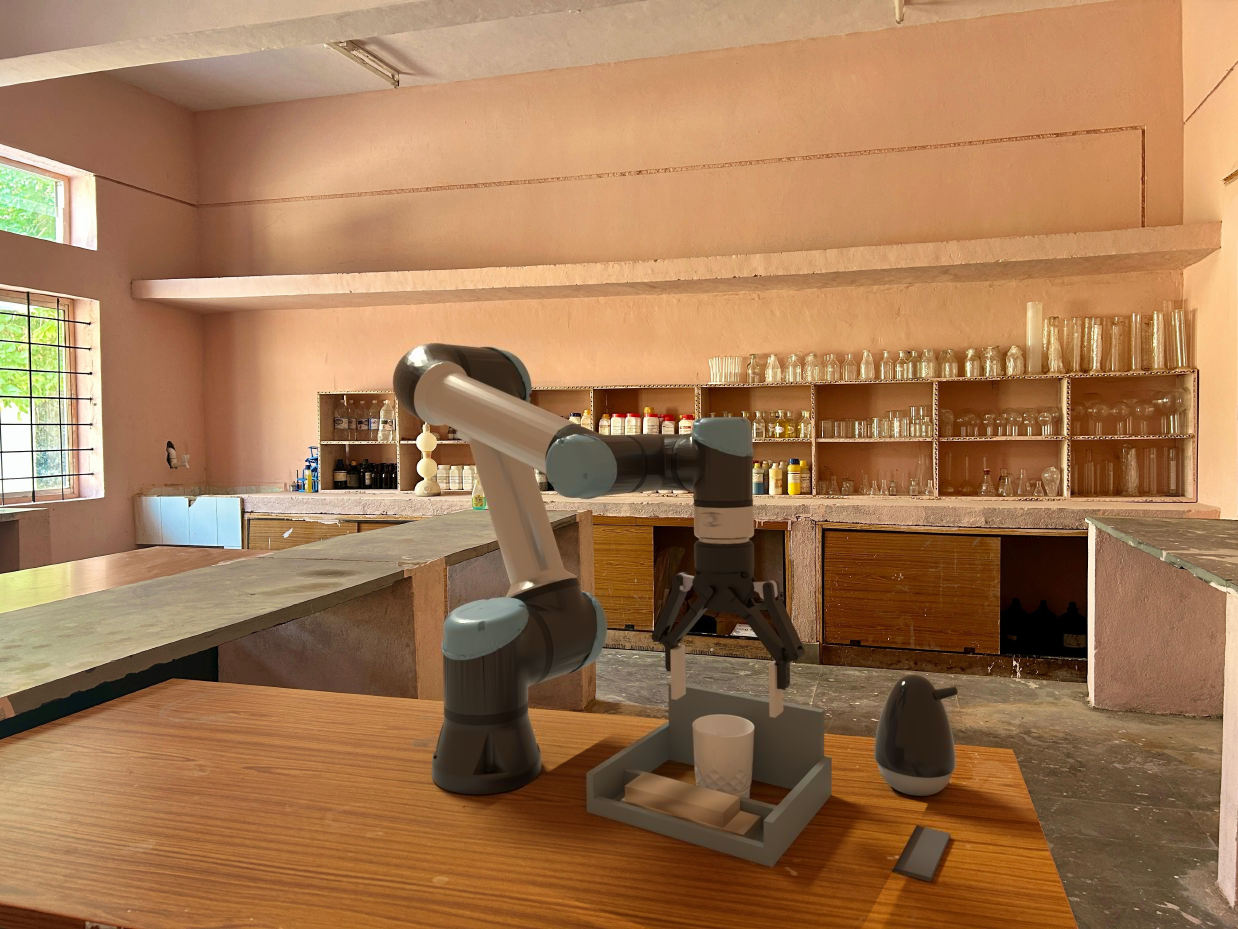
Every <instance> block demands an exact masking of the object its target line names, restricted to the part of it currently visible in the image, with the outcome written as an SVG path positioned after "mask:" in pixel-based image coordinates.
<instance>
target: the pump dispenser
mask: <svg viewBox="0 0 1238 929" xmlns="http://www.w3.org/2000/svg"><path fill="white" fill-rule="evenodd" d="M958 694H959V691H958V688H957V687H956V686H950V687H943V688H942V687H941V688H936V686H935V685H934V684H933V682H932V681H930V679H928V678H927V677H926V676H924V675H920V674H917V673H915V674H913V673H911V674H906V675H903V676H902V677H900V678H899V679H898V680H897V681H896V682H895V683H894V685H893V686H892V687H891V690H890V691H889V693H888V695H887V698H885V699H886V700H885V702H884V704H883V707H882V709H881V713H880V715H879V719H878V724H877V728H876V733H875V740H874V748H873V752H874V753H873V756H874V757H873V758H874V760H875V762H876V763H877V767H878V770H879V772H880V775H881V777H882V779H883V780H885V782H886V783H887V784H888V785H889V786H890V787H891V788H893V789H895V790H897V791H898V792H901V793H903V794H906V795H910V796H915V797H922V796H923V797H926V796H927V797H928V796H931V795H934V794H937V793H939V792H941V791H942V790H944V788H946V786H947V785H948V783H949V782H950V780H951V778H952V775H953V772H954V771H955V770H956V761H957V760H956V759H957V758H956V749H955V743H954V742H955V741H954V740H955V739H954V736H953V730H952V729H953V728H952V726H951V721H950V718H949V715H948V713H947V712H948V711H947V710H946V707H945V704H944V702H943V700H945V699H947V698H950V697H952V698H953V697H954V696H958Z"/></svg>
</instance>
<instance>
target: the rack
mask: <svg viewBox="0 0 1238 929" xmlns="http://www.w3.org/2000/svg"><path fill="white" fill-rule="evenodd" d="M667 691H668V721H665V722H664V723H662V724H660V725H659V726H657V727H656V728H654V729H652V730H651V731H649V732H648V733H646V734H645V735H643V736H642V737H640V738H638V739H637V740H636V741H634V742H633V743H631V744H629V745H628V746H626V747H624V748H623V749H621V750H619V751H618V752H617V753H615V754H614V755H612V756H610V757H609V758H607V759H606V760H604V761H603V762H601V763H599V764H598V765H596V766H595V767H593V768H592V769H590V770H589V771H587V772H586V779H585V780H586V812H587V813H590V814H593V815H597V816H600V817H604V818H607V819H610V820H614V821H617V822H620V823H622V824H626V825H630V826H634V827H637V828H640V829H643V830H646V831H649V832H653V833H657V834H660V835H663V836H666V837H670V838H673V839H676V840H680V841H682V842H686V843H690V844H694V845H697V846H700V847H703V848H707V849H710V850H713V851H717V852H719V853H722V854H727V855H730V856H734V857H736V858H740V859H743V860H747V861H749V862H753V863H756V864H760V865H764V866H767V867H770V868H773V867H774V866H775V865H776V864H777V862H779V860H780V859H781V858H782V856H783V855H784V854H785V853H786V851H788V848H790V846H791V845H792V844H793V843H794V842H795V840H796V839H797V837H798V836H800V834H801V833H802V831H803V830H804V829H805V828H806V827H807V826H808V824H809V823H810V822H811V821H812V819H814V817H815V816H816V814H818V812H819V811H820V809H821V808H822V807H823V806H824V804H825V803H826V802H827V801H828V799H829V798H830V797H831V796H832V788H833V787H832V783H833V780H832V779H833V777H832V775H833V774H832V773H833V772H832V771H833V770H832V768H833V766H832V764H833V763H832V762H833V761H832V760H833V759H832V758H833V757H831V756H827V755H825V709H823V708H817V707H813V706H808V705H803V704H796V703H791V702H785V701H783V712H782V713H780V714H779V715H778V716H777V717H776V718H774V717H769V698H764V697H759V696H758V697H757V696H753V695H749V694H748V695H747V694H742V693H739V692H738V693H737V692H731V691H726V690H720V689H715V688H709V687H704V686H699V685H694V684H688V683H686V694H685V695H684V696H682V697H680V698H679V699H677V700H674V699H671V682H669V683H668V690H667ZM708 715H733V716H738V717H742V718H744V719H747V720H749V721H750V722H752V723H753V724H754V727H755V728H754V748H753V764H752V781H756V782H761V783H763V784H768V785H773V786H777V787H781V788H785V789H789V790H791V791H790V792H788V794H787V795H786V796H784V798H783V799H782V800H781V801H780V802H779V803H778V804H772V803H768V802H764V801H760V800H756V799H752V798H750V797H749V798H745V797H741V796H739V797H740V811H743V812H747V813H750V814H754V815H758V816H761V832H760V833H759V834H758V835H757V836H756V837H755V838H754V839H753V840H752V839H748V838H745V837H741V836H738V835H734V834H731V833H727V832H724V831H720V830H717V829H713V828H710V827H706V826H703V825H699V824H696V823H692V822H689V821H685V820H682V819H678V818H675V817H671V816H668V815H664V814H661V813H657V812H654V811H650V810H647V809H643V808H639V807H636V806H632V805H629V804H625V803H622V802H621V799H623V798H624V797H625V785H627V784H628V783H630V782H631V781H633V780H634V779H635V778H637V777H638V776H640V775H641V774H642V773H644V772H646V773H649V774H653V775H657V776H661V777H665V778H669V779H673V780H677V781H681V782H684V783H688V784H692V785H696V783H695V784H694V783H690V782H687V781H682V780H678V779H674V778H671V777H667V776H663V775H659V774H655V773H653V772H654V770H656V769H658V768H659V767H660V766H661V765H663V764H664V763H665V762H668V761H674V762H677V763H682V764H685V765H690V766H694V749H693V727H692V724H693V722H694V721H695V720H696V719H698V718H700V717H703V716H708ZM696 786H699V785H696ZM700 787H702V786H700ZM704 788H706V787H704ZM708 789H710V788H708ZM712 790H714V789H712ZM716 791H718V790H716ZM719 792H722V791H719ZM723 793H726V792H723ZM727 794H730V793H727ZM731 795H734V794H731ZM735 796H738V795H735Z"/></svg>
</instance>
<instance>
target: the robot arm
mask: <svg viewBox="0 0 1238 929" xmlns="http://www.w3.org/2000/svg"><path fill="white" fill-rule="evenodd" d="M392 390H393V392H394V396H395V398H396V401H397V402H398V404H399V405H400V406H401V407H402V409H403V410H404V411H406V412H407V413H408V414H409V415H411V416H413V417H414V418H416V419H418V420H421V421H422V422H424V423H426V424H428V425H431V426H435V427H436V426H437V427H438V426H440V427H441V426H445V425H446V426H448V427H450V428H452V429H454V430H455V433H456V434H455V435H456V436H457V438H458V439H460V440H462V441H464V442H466V443H468V445H469V447H470V450H471V454H472V457H473V460H474V464H475V468H476V471H477V476H478V478H479V481H480V484H481V485H480V486H481V488H482V491H483V494H484V499H485V502H486V505H487V508H488V511H489V515H490V518H491V522H492V525H493V529H494V532H495V536H496V539H497V543H498V546H499V550H500V552H501V556H502V559H503V563H504V567H505V570H506V572H507V577H508V581H509V584H510V588H509V590H508V591H507V593H506V595H505V596H503V597H491V598H490V599H484V598H482V599H479V600H474V601H470V602H468V603H464V604H462V605H460V606H458V607H456V608H454V609H453V610H452V611H451V612H449V613H448V614H447V616H446V617H445V619H444V622H443V629H442V630H443V632H442V633H443V634H442V640H441V644H440V646H441V652H442V663H443V664H442V668H443V669H442V670H443V672H442V673H443V675H442V676H443V680H442V681H443V722H442V725H441V728H440V730H439V731H440V732H439V735H438V738H437V743H436V747H435V751H434V752H433V755H432V758H431V779H432V781H433V782H434V784H436V785H437V786H438V787H440V788H442V789H444V790H446V791H449V792H451V793H452V792H453V793H458V794H464V795H465V794H466V795H489V794H491V795H492V794H498V793H504V792H509V791H512V790H515V789H518V788H521V787H524V786H526V785H528V784H529V783H531V782H532V781H534V780H536V779H537V777H538V776H539V775H540V774H541V770H542V752H541V749H540V746H539V744H538V743H537V740H536V736H535V732H534V729H533V726H532V723H531V719H530V716H529V687H530V686H534V685H537V684H540V683H542V682H546V681H549V680H553V679H554V678H555V679H556V678H558V677H561V676H564V675H570V674H572V673H576V672H578V671H580V670H581V669H582V668H584V667H587V666H589V665H591V664H592V663H594V662H595V661H596V660H597V659H598V657H600V655H601V653H602V651H603V647H604V645H605V644H606V641H607V635H608V623H607V622H608V621H607V616H606V612H605V610H604V608H603V606H602V604H601V602H600V600H598V598H595V597H594V595H593V594H592V593H590V592H588V591H584V590H582V588H581V586H580V585H581V584H580V582H579V579H578V576H577V575H576V574H574V573H572V572H570V571H568V570H566V568H565V567H564V564H563V563H564V562H563V561H562V557H561V553H560V551H559V548H558V545H557V544H558V543H557V540H556V538H555V535H554V534H555V533H554V532H553V531H554V530H553V528H552V525H551V522H550V519H549V515H548V512H547V509H546V506H545V502H544V500H543V495H542V492H541V490H540V486H539V483H538V479H537V477H536V473H535V470H536V471H539V472H540V473H542V474H545V475H546V478H547V481H548V482H549V483H550V484H551V486H552V487H553V489H554V491H555V492H556V493H557V494H558V495H560V496H562V497H565V498H568V499H570V498H571V499H582V500H592V499H595V498H599V497H605V496H615V495H623V494H634V493H635V494H637V493H646V492H654V491H656V492H657V491H678V492H679V491H680V492H681V491H682V492H683V491H684V492H685V491H686V492H692V495H693V532H694V533H693V534H694V536H695V537H696V538H698V539H697V540H696V541H695V543H694V544H693V551H694V552H693V558H694V562H693V563H694V564H693V565H694V570H695V573H694V574H695V575H689V573H688V572H686V571H683V572H678V573H676V574H673V576H672V577H671V578H672V580H671V591H670V593H669V595H668V598H667V600H666V602H665V604H664V606H663V609H662V611H661V613H660V615H659V617H658V620H657V622H656V624H655V627H654V629H653V631H652V634H651V637H650V639H651V640H652V641H653V642H655V643H659V644H661V645H662V646H663V647H664V656H665V657H664V660H665V661H664V662H665V663H664V664H665V667H664V668H665V670H666V672H668V673H669V672H670V683H671V699H674V700H677V699H679V698H680V697H682V696H684V695H685V694H686V684H687V682H686V681H687V680H686V678H687V675H686V668H687V667H686V645H681V644H680V643H682V641H683V639H684V638H685V637H686V635H687V634H688V633H689V632H690V631H691V629H692V628H693V627H694V626H695V625H696V623H697V622H698V621H699V619H701V617H702V616H703V615H704V613H705V612H707V611H709V612H710V613H716V614H717V613H723V614H726V615H735V614H738V615H739V616H738V617H740V618H741V619H742V620H744V621H745V622H746V624H747V625H748V626H749V628H751V630H752V632H753V633H754V634H755V636H756V637H757V638H758V640H759V641H760V643H761V644H762V645H763V647H764V648H765V650H766V651H767V652H768V653H769V655H770V656H771V657H772V659H773V661H771V662H770V663H768V696H769V698H768V699H769V717H774V718H776V717H777V716H778V715H779V714H780V713H782V712H783V702H784V691H785V690H787V689H788V688H789V687H790V685H791V662H797V661H798V660H799V659H801V658H802V657H803V656H805V654H806V649H805V647H804V645H803V643H802V641H801V639H800V636H799V634H798V632H797V630H796V628H795V626H794V623H793V621H792V619H791V617H790V615H789V613H788V611H787V608H786V606H785V604H784V602H783V600H782V597H781V589H780V583H779V581H778V580H777V579H774V578H773V579H771V580H768V581H756V578H755V573H754V572H755V571H754V570H755V544H754V542H753V541H752V540H750V539H751V538H752V537H753V536H754V535H755V518H754V517H755V516H754V495H753V494H754V492H753V491H754V490H753V488H754V487H753V484H754V483H753V482H754V481H753V480H754V478H753V477H754V456H755V450H754V446H753V431H752V424H751V422H750V421H749V419H747V418H745V417H741V416H737V417H736V416H735V417H734V416H733V417H731V416H730V417H729V416H728V417H724V416H723V417H722V416H721V417H699V418H696V419H695V420H693V423H692V430H691V432H690V433H648V432H646V433H637V434H605V433H604V434H603V433H599V432H597V431H594V430H593V429H590V428H588V427H585V426H582V425H580V424H579V423H577V422H574V421H571V420H569V419H567V418H565V417H562V416H560V415H557V414H556V413H553V412H552V411H551V412H550V411H548V410H547V409H544V408H542V407H539V406H537V405H534V404H533V403H531V398H532V397H530V394H532V391H533V387H532V379H531V376H530V372H529V370H528V369H527V367H526V366H525V364H524V362H523V361H522V360H521V359H520V358H519V357H518V356H517V355H515V354H514V353H512V352H510V351H508V350H505V349H504V350H503V349H499V348H496V347H493V346H480V347H478V346H470V345H469V346H467V345H459V344H458V345H457V344H451V343H450V344H448V343H443V342H441V343H439V342H431V343H424V344H420V345H418V346H415V347H413V348H412V349H410V350H408V351H407V352H406V353H405V354H404V355H403V356H402V357H401V358H400V360H399V361H398V363H397V364H396V366H395V369H394V371H393V375H392ZM534 469H535V470H534ZM692 587H693V590H694V591H695V593H696V595H698V597H697V598H696V600H694V602H693V603H692V604H691V606H690V608H689V610H688V611H687V612H686V613H685V614H684V616H683V617H682V618H681V619H680V621H678V623H677V624H676V626H675V627H673V624H674V623H675V621H676V618H677V616H678V614H679V612H680V611H681V610H680V609H681V608H682V605H683V603H684V601H685V598H686V597H687V594H688V591H691V588H692ZM756 593H758V595H759V597H760V599H762V600H763V602H764V605H765V607H766V609H767V613H768V615H769V617H770V618H771V621H772V623H773V625H774V627H775V629H776V631H777V632H776V631H775V630H774V628H773V626H771V624H770V623H769V622H768V620H767V619H766V618H765V617H764V615H763V613H761V609H760V607H759V606H758V605H757V603H756V601H755V600H754V599H753V597H754V595H755V594H756ZM672 628H673V629H672ZM671 629H672V631H671ZM670 631H671V632H670ZM679 644H680V645H679Z"/></svg>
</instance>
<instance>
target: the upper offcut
mask: <svg viewBox="0 0 1238 929" xmlns="http://www.w3.org/2000/svg"><path fill="white" fill-rule="evenodd" d="M653 774H654V773H652V774H649V773H646V772H644V773H642V774H641V775H640V776H638V777H637V778H635V779H634V780H633V781H631V782H630V783H628V784H627V785H625V801H629V802H632V803H636V804H639V805H643V806H646V807H650V808H653V809H657V810H661V811H664V812H668V813H671V814H675V815H678V816H682V817H685V818H689V819H692V820H696V821H699V822H703V823H707V824H710V825H714V826H717V827H721V828H724V827H725V826H726V825H727V824H728V823H729V822H730V821H731V820H732V819H733V818H734V817H735V816H736V815H737V814H738V813H739V812H740V797H739V796H735V795H731V794H727V793H723V792H719V791H716V790H712V789H708V788H704V787H700V786H696V784H695V785H692V784H693V783H691V784H688V783H689V782H687V783H684V782H685V781H683V782H681V781H682V780H679V781H677V780H678V779H675V780H673V779H674V778H671V779H669V778H670V777H667V778H665V777H666V776H663V777H661V776H662V775H660V776H657V775H658V774H656V775H653Z"/></svg>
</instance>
